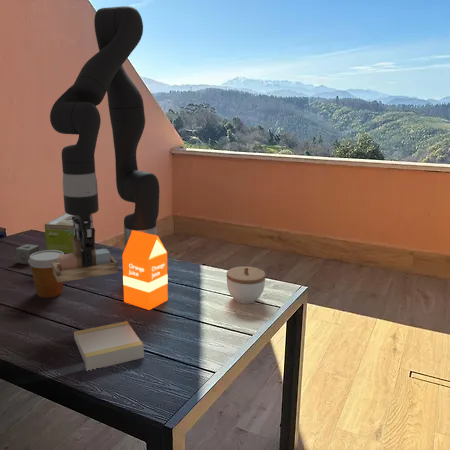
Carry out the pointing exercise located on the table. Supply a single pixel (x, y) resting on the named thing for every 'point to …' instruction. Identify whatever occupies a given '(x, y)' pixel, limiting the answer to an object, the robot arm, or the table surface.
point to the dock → (108, 345)
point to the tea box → (60, 233)
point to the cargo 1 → (67, 261)
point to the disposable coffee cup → (45, 273)
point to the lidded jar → (245, 283)
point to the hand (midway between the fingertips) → (85, 262)
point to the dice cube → (26, 253)
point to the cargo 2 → (102, 256)
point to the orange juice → (145, 271)
